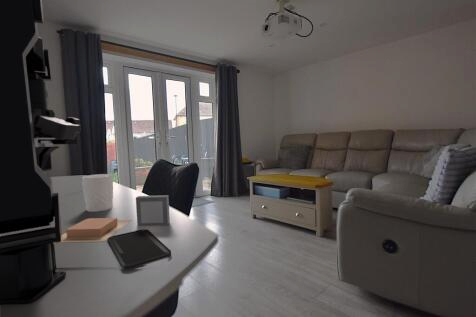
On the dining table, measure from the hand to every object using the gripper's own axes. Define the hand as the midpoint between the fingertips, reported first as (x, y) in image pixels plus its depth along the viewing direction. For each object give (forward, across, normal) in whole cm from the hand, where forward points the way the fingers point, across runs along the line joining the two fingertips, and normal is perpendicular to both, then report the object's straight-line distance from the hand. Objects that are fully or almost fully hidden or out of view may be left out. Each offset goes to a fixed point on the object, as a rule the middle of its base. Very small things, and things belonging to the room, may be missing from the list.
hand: (36, 180), depth 51 cm
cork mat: (+12, +3, -10) cm, 16 cm away
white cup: (+12, +20, 0) cm, 24 cm away
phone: (+13, -6, -23) cm, 27 cm away
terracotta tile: (+11, +6, -10) cm, 16 cm away
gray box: (+12, +6, -22) cm, 26 cm away
